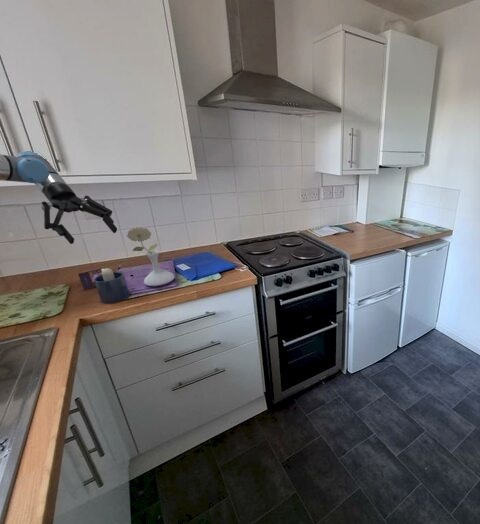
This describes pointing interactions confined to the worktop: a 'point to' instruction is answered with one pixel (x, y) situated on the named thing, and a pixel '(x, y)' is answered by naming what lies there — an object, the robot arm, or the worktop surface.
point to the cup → (112, 288)
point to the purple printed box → (89, 278)
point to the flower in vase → (157, 274)
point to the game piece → (108, 274)
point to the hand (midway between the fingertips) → (95, 236)
